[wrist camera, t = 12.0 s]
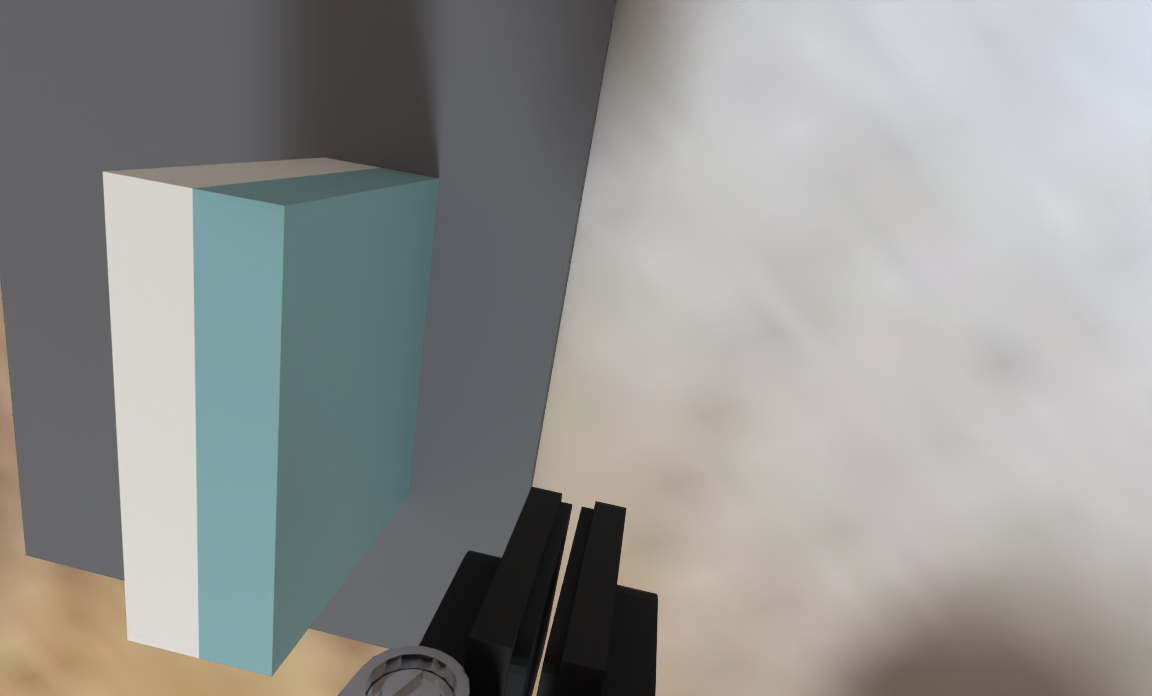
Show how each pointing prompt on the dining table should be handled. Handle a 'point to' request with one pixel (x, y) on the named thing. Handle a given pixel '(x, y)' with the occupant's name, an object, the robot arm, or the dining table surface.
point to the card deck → (260, 389)
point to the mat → (284, 132)
